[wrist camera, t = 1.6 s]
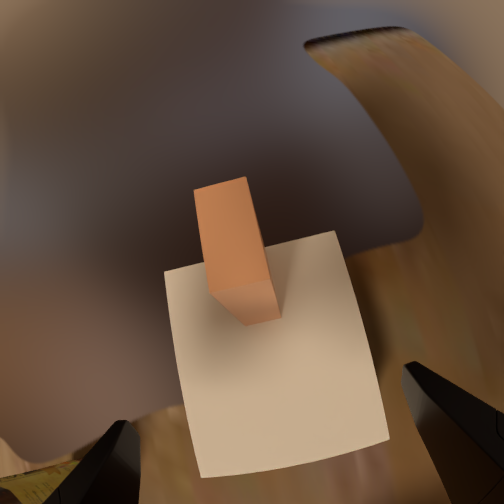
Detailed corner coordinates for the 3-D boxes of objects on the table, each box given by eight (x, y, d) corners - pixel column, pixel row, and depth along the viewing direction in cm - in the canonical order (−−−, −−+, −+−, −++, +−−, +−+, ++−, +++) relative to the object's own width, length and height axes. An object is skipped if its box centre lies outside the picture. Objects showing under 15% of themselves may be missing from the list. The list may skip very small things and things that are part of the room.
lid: (386, 436, 15) (447, 476, 7) (205, 473, 15) (143, 530, 7) (333, 235, 19) (351, 149, 12) (168, 275, 20) (98, 215, 12)
